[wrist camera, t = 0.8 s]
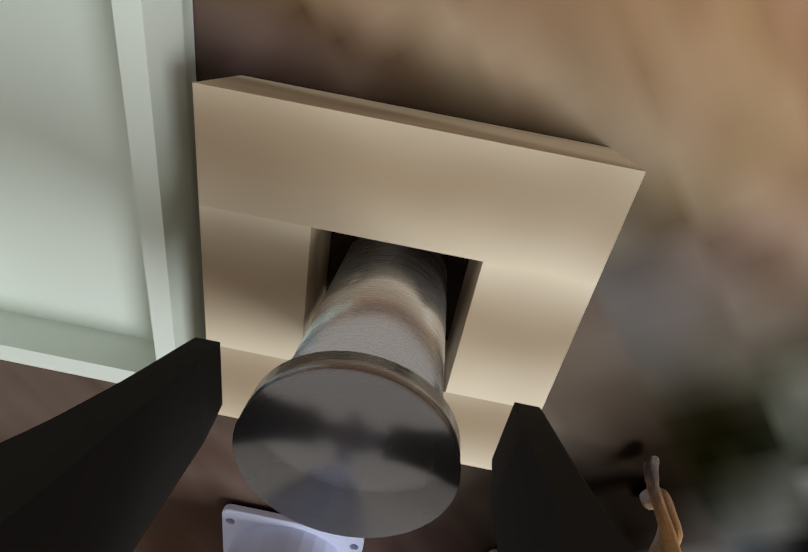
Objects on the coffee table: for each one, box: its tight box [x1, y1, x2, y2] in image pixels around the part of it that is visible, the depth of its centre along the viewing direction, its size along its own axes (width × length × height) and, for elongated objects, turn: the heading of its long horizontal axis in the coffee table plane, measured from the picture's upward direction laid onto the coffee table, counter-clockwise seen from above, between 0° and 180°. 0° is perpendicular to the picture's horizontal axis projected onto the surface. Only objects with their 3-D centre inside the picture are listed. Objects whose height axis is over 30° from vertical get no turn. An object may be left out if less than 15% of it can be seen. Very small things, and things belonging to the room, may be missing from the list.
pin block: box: [192, 75, 646, 470], centre depth 16 cm, size 12×12×3 cm
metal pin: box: [232, 237, 461, 538], centre depth 13 cm, size 5×5×9 cm
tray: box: [0, 0, 206, 383], centre depth 15 cm, size 16×11×2 cm
